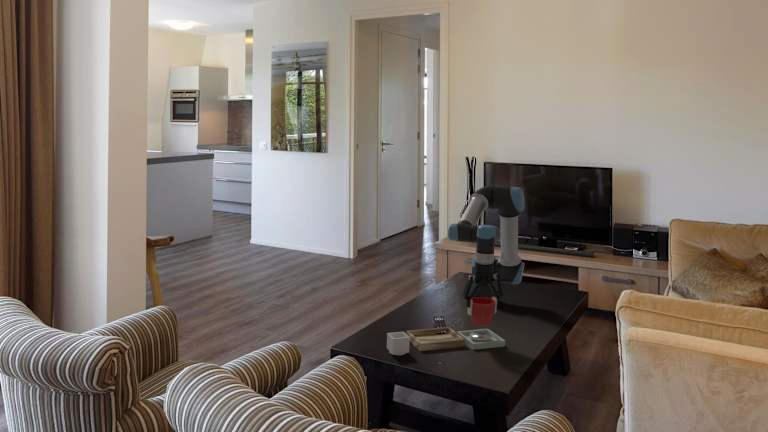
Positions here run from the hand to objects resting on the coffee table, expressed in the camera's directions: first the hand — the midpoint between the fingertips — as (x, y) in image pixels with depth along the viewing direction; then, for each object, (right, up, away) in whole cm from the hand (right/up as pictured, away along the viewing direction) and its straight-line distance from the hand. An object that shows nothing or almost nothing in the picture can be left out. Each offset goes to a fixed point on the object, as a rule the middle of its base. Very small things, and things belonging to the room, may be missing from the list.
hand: (481, 313), depth 249 cm
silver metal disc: (0, -10, +2) cm, 10 cm away
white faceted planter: (-36, -13, -12) cm, 40 cm away
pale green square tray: (0, -12, +2) cm, 12 cm away
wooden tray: (-20, -12, 0) cm, 23 cm away
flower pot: (0, -4, +1) cm, 4 cm away
